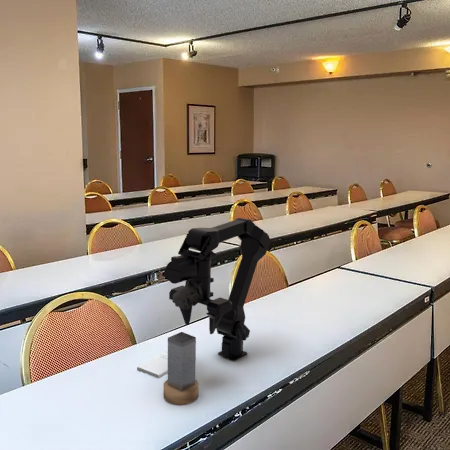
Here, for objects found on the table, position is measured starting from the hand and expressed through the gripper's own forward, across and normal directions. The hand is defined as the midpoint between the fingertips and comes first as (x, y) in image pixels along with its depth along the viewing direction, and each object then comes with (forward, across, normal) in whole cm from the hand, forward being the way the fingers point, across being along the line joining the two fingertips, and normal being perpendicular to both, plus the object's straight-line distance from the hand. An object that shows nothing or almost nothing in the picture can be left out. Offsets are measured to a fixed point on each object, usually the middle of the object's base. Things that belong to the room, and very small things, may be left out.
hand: (199, 329), depth 141 cm
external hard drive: (+14, -10, -4) cm, 18 cm away
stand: (+13, +5, -12) cm, 18 cm away
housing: (+10, +5, -12) cm, 16 cm away
